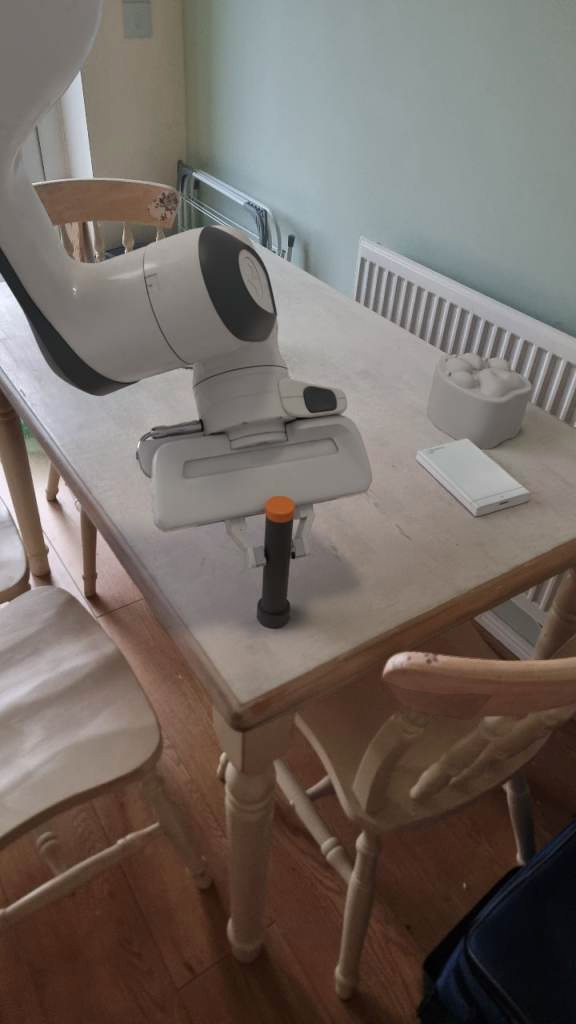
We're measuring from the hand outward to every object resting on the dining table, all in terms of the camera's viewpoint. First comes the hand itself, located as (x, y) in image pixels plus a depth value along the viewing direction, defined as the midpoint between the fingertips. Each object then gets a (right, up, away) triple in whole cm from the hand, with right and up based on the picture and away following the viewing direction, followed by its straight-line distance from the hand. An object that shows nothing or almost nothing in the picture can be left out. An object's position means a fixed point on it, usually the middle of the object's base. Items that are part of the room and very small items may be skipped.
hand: (279, 562), depth 62 cm
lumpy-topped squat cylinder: (+26, +17, +36) cm, 48 cm away
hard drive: (+24, +8, +25) cm, 35 cm away
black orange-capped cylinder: (-1, -6, +5) cm, 8 cm away
